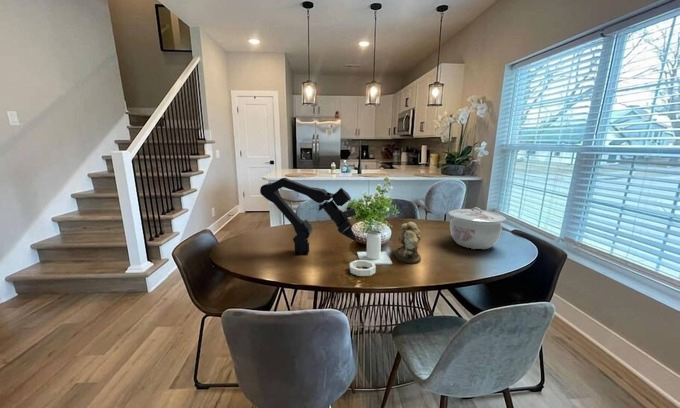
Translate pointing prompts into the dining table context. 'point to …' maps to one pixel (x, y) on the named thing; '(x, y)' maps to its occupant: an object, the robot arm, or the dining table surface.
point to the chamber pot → (475, 227)
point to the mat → (382, 260)
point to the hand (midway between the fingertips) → (354, 238)
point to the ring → (362, 271)
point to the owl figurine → (408, 244)
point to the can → (373, 245)
